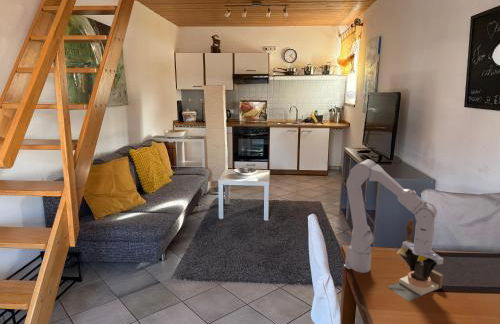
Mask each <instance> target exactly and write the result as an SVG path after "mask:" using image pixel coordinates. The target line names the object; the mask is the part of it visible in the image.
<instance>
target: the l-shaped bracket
mask: <svg viewBox="0 0 500 324" xmlns="http://www.w3.org/2000/svg"><path fill="white" fill-rule="evenodd" d="M430 279H431V281H433V282H435V283H436V284H438V285H439V286H438V289H436V291H437V290H440V289H442V288H443V280H444V274H442V273H440V272H438V271H436V270H434V269H433V270H432V272H431V274H430ZM386 287H387V288H388V289H390V291H392V292H394V294H398V296H400V297H402V298H403V299H405V300H406V301H408V302H411V301H413V300H416V299H418V298H420V297H422V296H426V294H424V295H420V294H418V293H416V292H414V291H413V290H411V289H409V288H408V287H406V286H404V285H403V284H401V283H399V281H398V282H395V283H393V284H389V285H388V286H386ZM432 292H435V290H433V291H431V292H428V293H427V294H430V293H432Z"/></svg>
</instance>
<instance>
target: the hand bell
mask: <svg viewBox="0 0 500 324" xmlns="http://www.w3.org/2000/svg"><path fill="white" fill-rule="evenodd" d="M414 229H415V228H414V222H413V219H409V220H408V222H407V224H406V233H407V234H406V239H405V241H404V242H406V241H407V242H409V243H412V244H414V242H412V233H413V232H414ZM407 250H408V249H407V248H403V243H402V244H401V247H400V248H399V249H398V250H397V251H396V254H397V255H398V254H399V255H400V256H401V255H402V256H403V257H405V258H407V256H406V254H405V252H406V251H407Z"/></svg>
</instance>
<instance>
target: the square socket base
mask: <svg viewBox="0 0 500 324" xmlns="http://www.w3.org/2000/svg"><path fill="white" fill-rule="evenodd" d="M414 271H415V270H414ZM414 271H410V272H407V275H406V276H404V277H401V278H399V281H398V282H399V283H401V284H403V286H404V287H405V286H406V287H407V288H409V289H410V290H413V291H414V293H416V294H420V295H423V296H425V295H427V294H429V293H432V292H431V291H433V290H434V291H437V289H438V286H439V285H438V284H436V283H435V282H433V281H431V279H430V276H429V277H428V278H426V281H419V280H416V279H414V278H413V277H414ZM399 283H398V284H399ZM406 287H405V288H406ZM409 289H408V290H409ZM438 290H439V289H438ZM434 291H433V292H434ZM428 292H429V293H428ZM424 294H425V295H424Z"/></svg>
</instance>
